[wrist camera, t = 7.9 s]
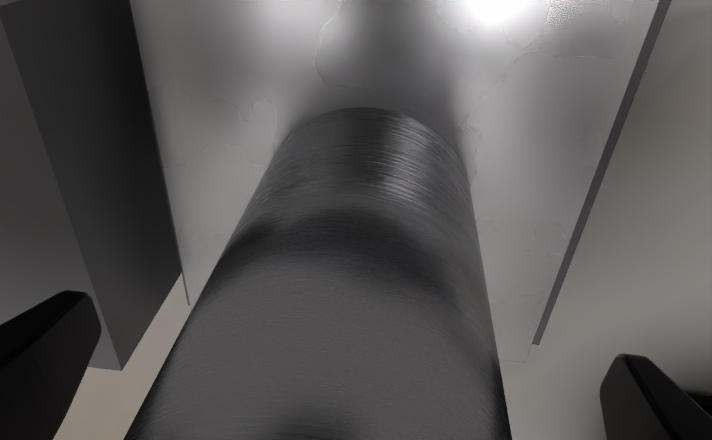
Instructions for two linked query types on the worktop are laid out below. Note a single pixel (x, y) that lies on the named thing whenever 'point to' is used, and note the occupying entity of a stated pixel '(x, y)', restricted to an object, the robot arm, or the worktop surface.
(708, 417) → the robot arm
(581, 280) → the worktop surface
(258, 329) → the cylinder
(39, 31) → the dark grey u-shaped piece
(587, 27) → the pan
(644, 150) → the worktop surface
